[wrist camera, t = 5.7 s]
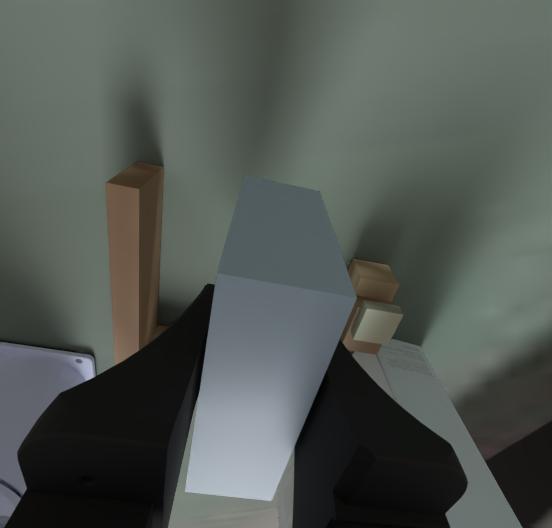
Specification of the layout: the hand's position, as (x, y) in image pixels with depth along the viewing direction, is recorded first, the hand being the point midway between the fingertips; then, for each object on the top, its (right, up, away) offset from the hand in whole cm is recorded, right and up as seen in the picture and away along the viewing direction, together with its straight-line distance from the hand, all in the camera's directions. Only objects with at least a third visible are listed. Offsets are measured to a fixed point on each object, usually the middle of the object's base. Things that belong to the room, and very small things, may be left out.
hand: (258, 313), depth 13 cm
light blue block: (0, +1, +2) cm, 3 cm away
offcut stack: (+7, 0, +10) cm, 12 cm away
